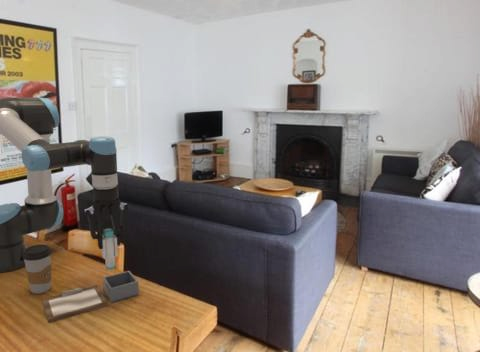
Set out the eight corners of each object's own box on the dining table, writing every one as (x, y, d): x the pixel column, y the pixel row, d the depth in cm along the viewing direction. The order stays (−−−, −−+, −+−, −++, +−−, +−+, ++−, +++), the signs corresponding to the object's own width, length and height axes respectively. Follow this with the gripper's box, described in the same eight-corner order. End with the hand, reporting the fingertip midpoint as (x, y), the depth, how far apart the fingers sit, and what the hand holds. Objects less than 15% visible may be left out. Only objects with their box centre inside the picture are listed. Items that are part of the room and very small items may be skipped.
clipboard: (42, 302, 118) (42, 296, 118) (97, 288, 128) (97, 282, 127) (48, 323, 108) (47, 317, 107) (107, 305, 117) (107, 300, 117)
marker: (104, 266, 120) (101, 229, 117) (114, 264, 122) (112, 227, 119) (106, 270, 118) (104, 232, 115) (116, 268, 119) (114, 230, 117)
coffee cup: (42, 297, 121) (38, 255, 118) (21, 294, 123) (16, 252, 120) (59, 284, 129) (56, 245, 126) (39, 281, 131) (35, 242, 128)
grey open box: (103, 290, 126) (102, 277, 125) (130, 283, 131) (129, 270, 130) (111, 303, 119) (110, 289, 117) (138, 294, 124) (138, 281, 123)
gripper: (80, 192, 107) (86, 266, 112) (134, 186, 115) (137, 255, 120) (75, 187, 113) (81, 257, 118) (127, 181, 121) (131, 247, 126)
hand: (109, 255), depth 119 cm, fingers closed on marker, 3 cm apart
